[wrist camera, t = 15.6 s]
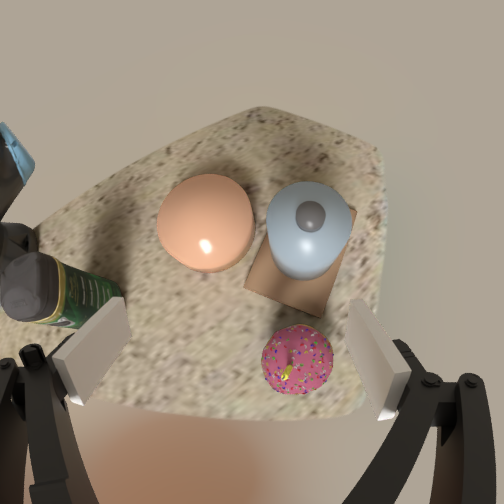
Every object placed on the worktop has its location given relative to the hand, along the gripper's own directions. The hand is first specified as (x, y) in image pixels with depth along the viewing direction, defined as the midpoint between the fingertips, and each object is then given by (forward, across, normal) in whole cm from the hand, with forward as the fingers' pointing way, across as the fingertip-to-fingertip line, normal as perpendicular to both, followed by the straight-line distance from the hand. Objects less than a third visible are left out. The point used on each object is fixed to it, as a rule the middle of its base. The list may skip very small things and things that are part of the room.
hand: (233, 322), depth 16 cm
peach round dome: (+27, -6, 0) cm, 28 cm away
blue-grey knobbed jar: (+24, +7, -2) cm, 25 cm away
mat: (+25, +7, -3) cm, 26 cm away
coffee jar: (+22, -24, -11) cm, 34 cm away
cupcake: (+17, +6, -15) cm, 24 cm away
